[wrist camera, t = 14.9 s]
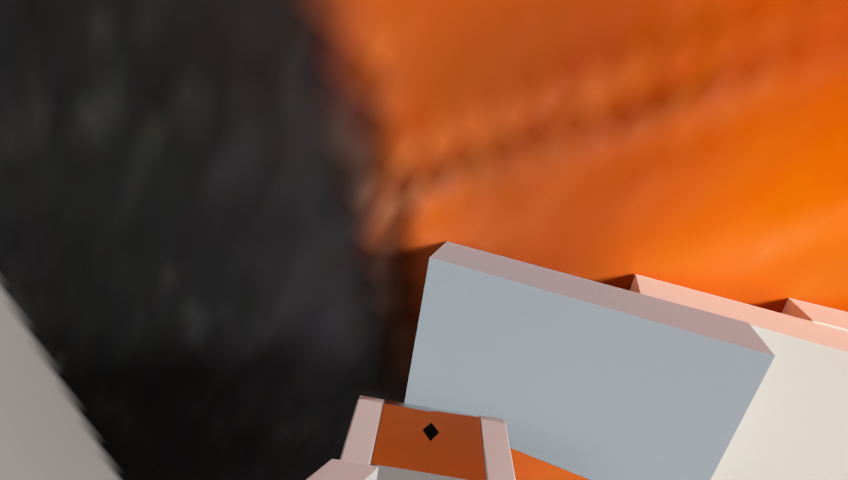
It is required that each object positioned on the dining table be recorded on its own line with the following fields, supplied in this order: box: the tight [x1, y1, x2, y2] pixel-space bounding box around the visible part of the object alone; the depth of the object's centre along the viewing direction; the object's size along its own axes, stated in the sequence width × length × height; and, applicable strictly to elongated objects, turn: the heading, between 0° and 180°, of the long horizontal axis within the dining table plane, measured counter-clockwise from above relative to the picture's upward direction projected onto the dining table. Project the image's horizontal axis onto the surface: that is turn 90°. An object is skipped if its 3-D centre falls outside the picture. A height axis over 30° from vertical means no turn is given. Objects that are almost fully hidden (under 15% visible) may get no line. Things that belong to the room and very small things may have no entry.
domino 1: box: [404, 241, 775, 480], centre depth 12 cm, size 2×5×8 cm
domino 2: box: [629, 274, 848, 480], centre depth 11 cm, size 2×5×8 cm
